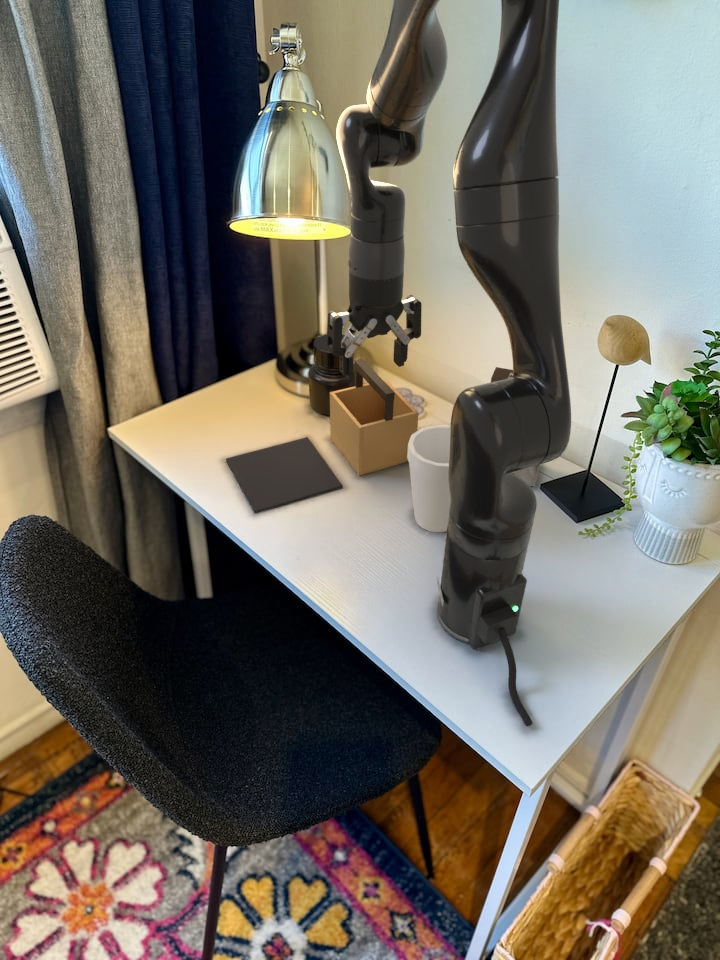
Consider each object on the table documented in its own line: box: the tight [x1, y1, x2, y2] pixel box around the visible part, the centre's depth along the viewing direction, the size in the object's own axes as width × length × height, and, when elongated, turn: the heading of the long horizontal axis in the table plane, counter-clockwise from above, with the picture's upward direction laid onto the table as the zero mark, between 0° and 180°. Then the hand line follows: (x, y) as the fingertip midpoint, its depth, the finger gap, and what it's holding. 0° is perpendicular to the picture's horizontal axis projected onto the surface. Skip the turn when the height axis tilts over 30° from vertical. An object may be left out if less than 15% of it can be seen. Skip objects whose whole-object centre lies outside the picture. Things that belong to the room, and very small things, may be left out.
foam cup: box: [407, 424, 451, 533], centre depth 100 cm, size 10×9×13 cm
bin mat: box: [225, 436, 343, 514], centre depth 112 cm, size 14×14×1 cm
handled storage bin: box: [329, 358, 419, 477], centre depth 113 cm, size 11×10×14 cm
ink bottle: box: [308, 333, 355, 416], centre depth 124 cm, size 10×9×12 cm
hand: (373, 370), depth 108 cm, fingers open, 8 cm apart
